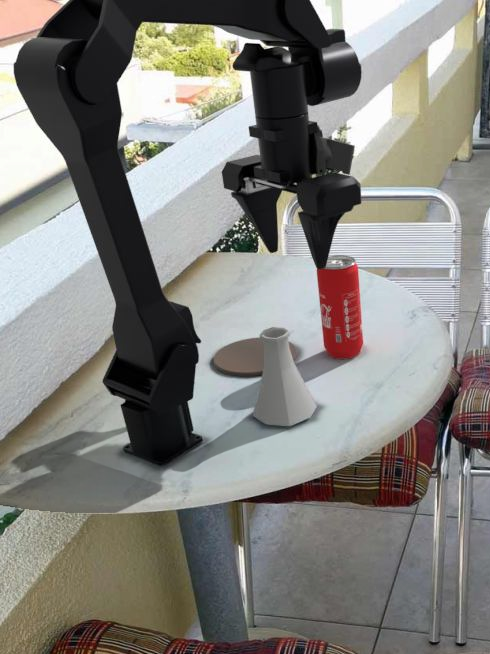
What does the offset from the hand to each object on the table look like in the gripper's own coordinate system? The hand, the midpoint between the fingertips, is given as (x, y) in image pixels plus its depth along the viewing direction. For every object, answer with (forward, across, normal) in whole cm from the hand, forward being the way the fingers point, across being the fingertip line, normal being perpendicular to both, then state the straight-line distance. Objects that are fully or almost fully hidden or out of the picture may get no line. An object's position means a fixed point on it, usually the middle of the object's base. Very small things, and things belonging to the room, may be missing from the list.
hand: (296, 260), depth 101 cm
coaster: (+14, +8, +2) cm, 16 cm away
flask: (+14, -7, +9) cm, 19 cm away
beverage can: (+14, 0, -6) cm, 16 cm away
